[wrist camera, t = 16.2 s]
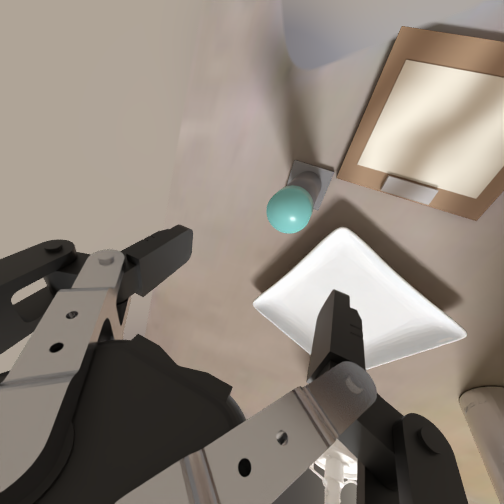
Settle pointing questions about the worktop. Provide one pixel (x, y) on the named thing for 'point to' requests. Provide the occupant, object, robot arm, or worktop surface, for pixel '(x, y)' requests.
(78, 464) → the robot arm
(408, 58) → the clipboard
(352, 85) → the worktop surface
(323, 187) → the coaster
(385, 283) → the salad plate
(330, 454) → the white nozzle bottle
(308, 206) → the marker
